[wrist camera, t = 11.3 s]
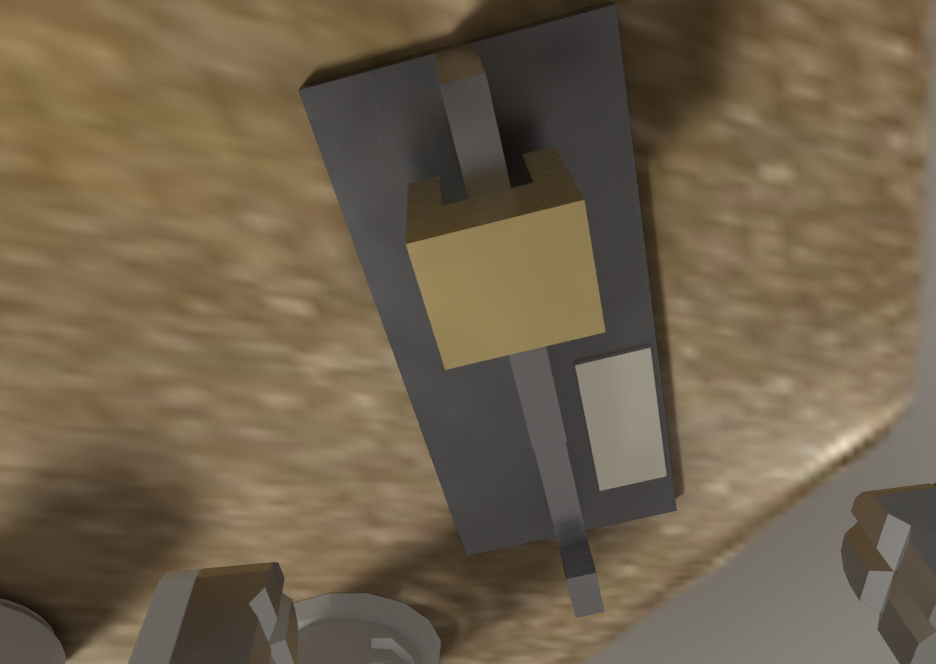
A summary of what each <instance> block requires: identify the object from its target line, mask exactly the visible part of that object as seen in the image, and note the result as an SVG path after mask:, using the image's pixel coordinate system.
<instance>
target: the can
mask: <svg viewBox="0 0 936 664" xmlns="http://www.w3.org/2000/svg"><path fill="white" fill-rule="evenodd" d="M65 660H66V655H65V653H64V650H63V647H62V645H61V642H60V641H59V640H58V638H57V637H56V636H55V634H54V631H53V629H52V627H51V626H50V625H49V624H48V623H47V622H46V621H45V620H44V619H43V617H41V616H40V615H38V614H37V613H35V612H33V611H32V610H30V609H29V608H27V607H25V606H22V605H20V604H17V603H14V602H12V601H9V600H6V599H0V664H65Z"/></svg>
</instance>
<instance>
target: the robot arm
mask: <svg viewBox="0 0 936 664" xmlns="http://www.w3.org/2000/svg"><path fill="white" fill-rule="evenodd" d="M851 512H852V514H853V515H854V517H855V518H856V520H857V521H858V522H857V523H856V524H855V525H854V526H853V527H852V528H850V529H849V530H848V531H847V532H846V533H845V535H844V539H843V543H842V548H841V555H842V561H843V568H844V571H845V574H846V576H847V579H848V581H849V583H850V586H851V587H852V589H853V591H854V592H855V594H856V595H857V597H858V599H859V600H860V601H861V602H862V603H864V604H865V605H867V606H869V607H870V608H872V609H873V610H875V611H877V612H878V613H880V615H879V623H878V631H879V632H880V634H881V635H882V637H883V638H884V640H885V642H886V643H887V645H888V646H889V648H890V649H891V651H892V652H893V654H894V656H895V657H896V659H897V660H898V662H899V663H900V664H936V483H934V484H929V483H928V484H920V485H913V486H905V487H897V488H889V489H882V490H874V491H866V492H862V493H861V494H859V496H857V497H856V498H855V500H854V503H853V507H852V510H851ZM283 584H284V576H283V573H282V571H281V568H280V566H279V563H275V562H271V563H260V564H249V565H238V566H227V567H216V568H205V569H198V570H188V571H178V572H168V573H166V574H165V575H164V576H163V578H162V579H161V580H160V581H159V583H158V584H157V587H156V590H155V592H154V595H153V598H152V601H151V603H150V606H149V609H148V611H147V614H146V617H145V620H144V622H143V625H142V628H141V630H140V633H139V636H138V639H137V641H136V644H135V647H134V649H133V652H132V655H131V658H130V660H129V663H128V664H296V661H297V653H298V622H297V616H296V610H295V607H294V604H293V601H292V599H291V598H290V597H288V596H286V595H285V594H283V593H282V590H283Z"/></svg>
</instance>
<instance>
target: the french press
mask: <svg viewBox="0 0 936 664" xmlns="http://www.w3.org/2000/svg"><path fill="white" fill-rule="evenodd" d="M293 604H294V607H295V610H296V616H297V622H298V653H297V661H296V664H439V658H440V648H441V640H440V639H439V637H438V635H437V633H436V631H435V630H434V628H433V626H432V624H431V623H430V621H429V620H428V619H427V618H425V617H424V616H422V615H421V614H419V613H418V612H416V611H415V610H413V609H412V608H410V607H409V606H407V605H406V604H404V603H402V602H399V601H395V600H391V599H388V598H384V597H380V596H377V595H373V594H369V593H328V594H325V595H321V596H317V597H314V598H310V599H307V600H303V601H299V602H296V603H293Z"/></svg>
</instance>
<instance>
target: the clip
mask: <svg viewBox="0 0 936 664" xmlns="http://www.w3.org/2000/svg"><path fill="white" fill-rule="evenodd" d="M522 157H523V162H524V167H525V172H526V177H527V182H528V184H525V185H521V186H517V187H513V188H509V189H505V190H502V191H498V192H494V193H490V194H486V195H482V196H478V197H474V198H470V199H466V200H462V201H458V202H454V203H450V204H447V203H446V199H445V195H444V192H443V188H442V184H441V181H440V177H439V176H436V177H432V178H428V179H424V180H420V181H416V182H412V183H408V189H407V220H406V247H407V250H408V253H409V256H410V259H411V263H412V266H413V269H414V272H415V275H416V279H417V282H418V285H419V288H420V291H421V294H422V298H423V301H424V304H425V307H426V310H427V313H428V317H429V320H430V323H431V326H432V329H433V333H434V336H435V339H436V342H437V345H438V348H439V352H440V355H441V358H442V361H443V364H444V367H445V370H447V369H451V368H455V367H460V366H464V365H468V364H472V363H477V362H481V361H485V360H490V359H494V358H498V357H502V356H507V355H511V354H515V353H519V352H524V351H528V350H532V349H536V348H541V347H545V346H549V345H553V344H558V343H562V342H566V341H571V340H575V339H579V338H583V337H588V336H592V335H596V334H600V333H605V326H604V319H603V313H602V307H601V301H600V294H599V288H598V282H597V276H596V269H595V263H594V257H593V251H592V245H591V238H590V232H589V226H588V220H587V213H586V207H585V201H584V198H583V197H582V195H581V193H580V191H579V189H578V188H577V186H576V184H575V182H574V181H573V179H572V177H571V175H570V173H569V172H568V170H567V168H566V166H565V165H564V163H563V161H562V159H561V157H560V156H559V154H558V152H557V150H556V149H555V147H554V146H553V147H549V148H546V149H542V150H538V151H534V152H530V153H526V154H522Z"/></svg>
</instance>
